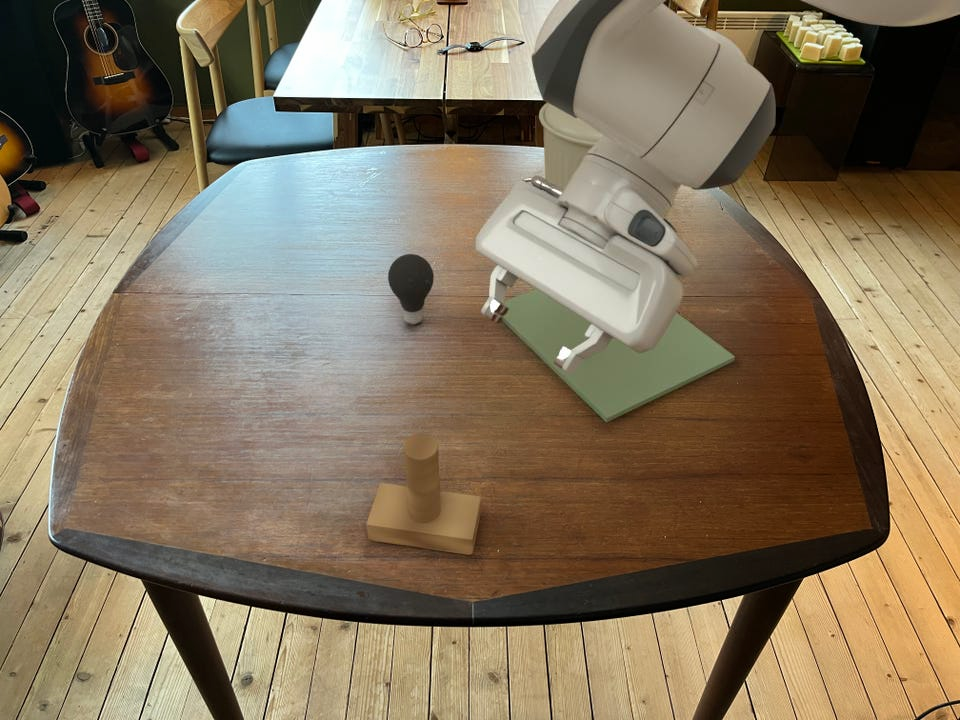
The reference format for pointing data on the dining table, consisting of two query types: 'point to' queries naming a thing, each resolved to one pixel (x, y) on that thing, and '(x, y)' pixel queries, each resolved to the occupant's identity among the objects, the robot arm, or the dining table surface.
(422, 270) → the light bulb
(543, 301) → the mat
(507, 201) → the robot arm
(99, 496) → the dining table surface
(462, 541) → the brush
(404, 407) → the dining table surface
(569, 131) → the canister
